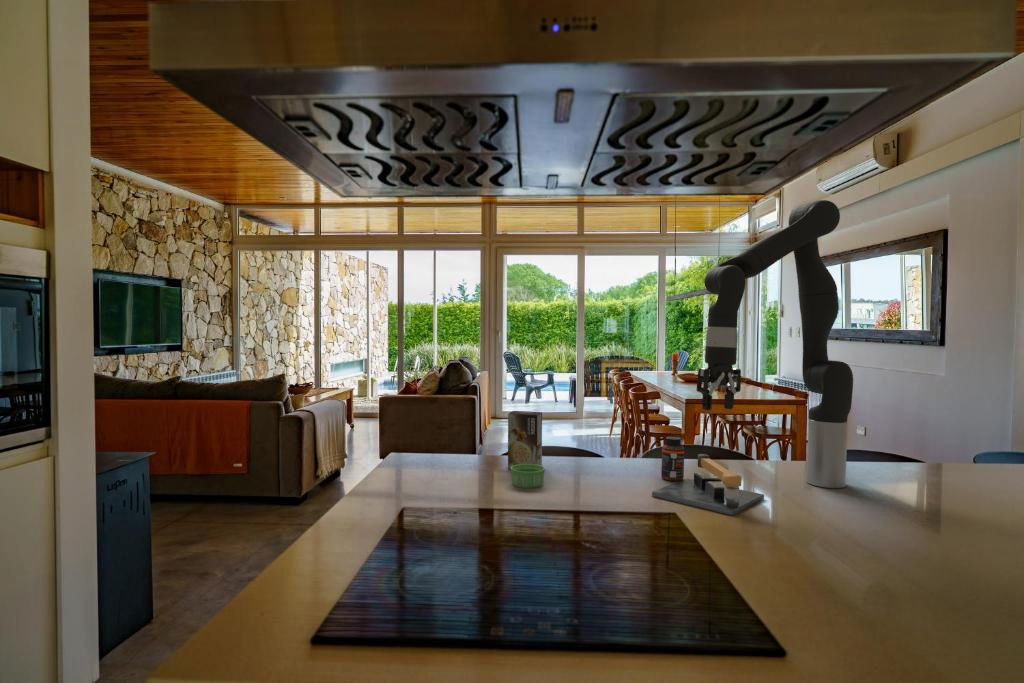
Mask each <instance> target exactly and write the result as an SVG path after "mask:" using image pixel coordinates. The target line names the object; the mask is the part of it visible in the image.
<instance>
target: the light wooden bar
mask: <svg viewBox="0 0 1024 683" xmlns="http://www.w3.org/2000/svg"><path fill="white" fill-rule="evenodd" d="M697 467H698V468H700V469H701V468H702V469H705V470H706V471H708V473H712V474H713V475H715V476H716V477H718V478H719V479H721V480H722V482H723V485H726V486H731V487H739V488H740V487H742V475H740V474H736V473H733V472H731V471H729V470H728V469H726V468H725V467H723V466H722V465H721V464H719V463H717V462H715V461H714V460H712V459H711V458H710V455H708V454H706V453H699V454H697Z"/></svg>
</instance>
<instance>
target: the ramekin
mask: <svg viewBox="0 0 1024 683" xmlns="http://www.w3.org/2000/svg"><path fill="white" fill-rule="evenodd" d="M545 471H546V467H545V466H543V465H542V466H541V465H536V464H517V465H513V466H511V469H510V472H511V484H512V485H513V486H514V487H517V488H523V489H533V488H540V487H542V486H543V485H544V477H545Z"/></svg>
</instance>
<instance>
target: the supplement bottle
mask: <svg viewBox="0 0 1024 683" xmlns="http://www.w3.org/2000/svg"><path fill="white" fill-rule="evenodd" d="M660 469H661V470H660V471H661V472H660V474H661V476H660V477H661V479H663V480H666V481H671V482H680V481H683V480H684V475H685V474H684V473H685V471H684V470H685V447H684V446H683V444H682V438H681V437H678V436H677V437H676V436H666V437H665V444H663V445H662V448H661V468H660Z"/></svg>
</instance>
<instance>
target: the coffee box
mask: <svg viewBox="0 0 1024 683" xmlns="http://www.w3.org/2000/svg"><path fill="white" fill-rule="evenodd" d="M517 464H536V465H541V466H543V412H541V411H540V412H539V411H526V410H525V411H523V410H512V411H510V412H509V413H508V414H507V469H510V470H511V466H513V465H517Z"/></svg>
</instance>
